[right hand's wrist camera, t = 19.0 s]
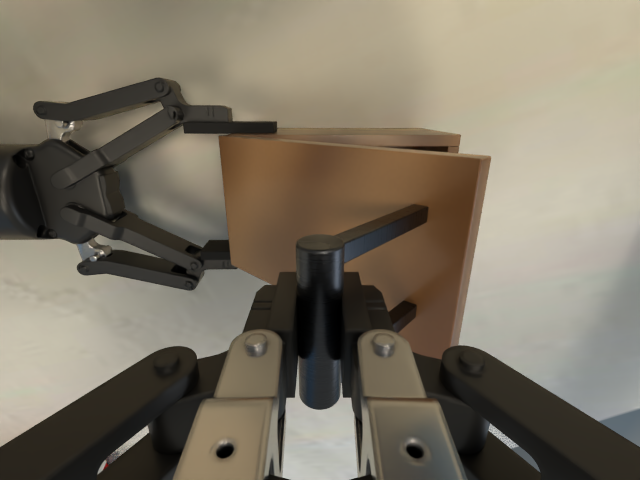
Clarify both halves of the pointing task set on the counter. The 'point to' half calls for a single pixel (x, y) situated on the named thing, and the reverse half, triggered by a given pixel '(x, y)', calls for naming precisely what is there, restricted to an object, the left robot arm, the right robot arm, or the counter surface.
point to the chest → (371, 137)
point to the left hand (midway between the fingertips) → (277, 192)
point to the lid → (355, 237)
